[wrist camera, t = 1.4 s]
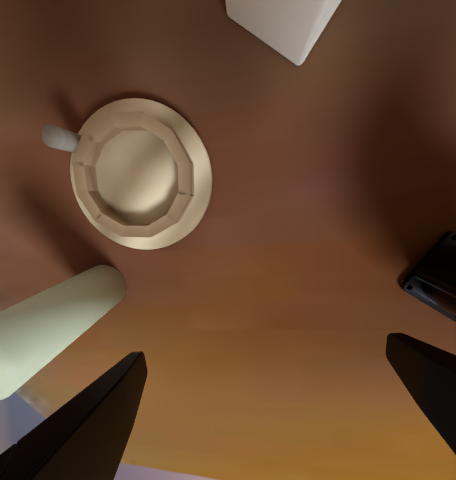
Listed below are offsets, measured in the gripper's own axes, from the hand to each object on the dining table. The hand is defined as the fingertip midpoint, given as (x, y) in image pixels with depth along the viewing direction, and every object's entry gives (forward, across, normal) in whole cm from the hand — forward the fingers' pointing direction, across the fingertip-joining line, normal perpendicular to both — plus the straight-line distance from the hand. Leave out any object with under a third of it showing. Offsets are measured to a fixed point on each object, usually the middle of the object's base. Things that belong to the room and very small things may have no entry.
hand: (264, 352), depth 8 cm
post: (+14, +15, +3) cm, 21 cm away
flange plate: (+14, +9, -8) cm, 18 cm away
